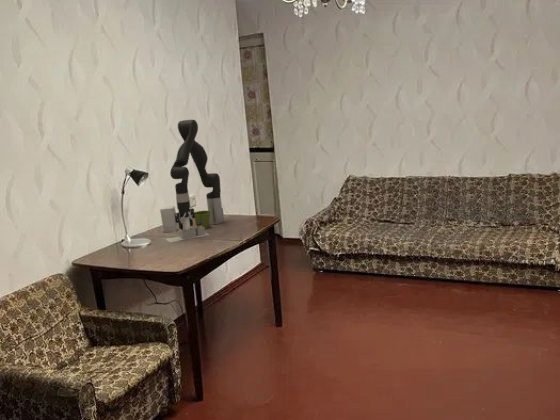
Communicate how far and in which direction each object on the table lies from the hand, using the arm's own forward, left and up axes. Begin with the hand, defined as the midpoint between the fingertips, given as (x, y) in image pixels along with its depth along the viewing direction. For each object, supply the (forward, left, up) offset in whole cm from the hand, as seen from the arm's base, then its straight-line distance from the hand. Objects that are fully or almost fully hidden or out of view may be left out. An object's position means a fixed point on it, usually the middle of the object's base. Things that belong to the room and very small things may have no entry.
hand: (186, 227), depth 313 cm
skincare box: (+3, -30, -7) cm, 31 cm away
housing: (0, 0, -7) cm, 7 cm away
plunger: (-8, 0, -5) cm, 10 cm away
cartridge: (0, 0, -6) cm, 6 cm away
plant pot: (-15, -17, -7) cm, 24 cm away
